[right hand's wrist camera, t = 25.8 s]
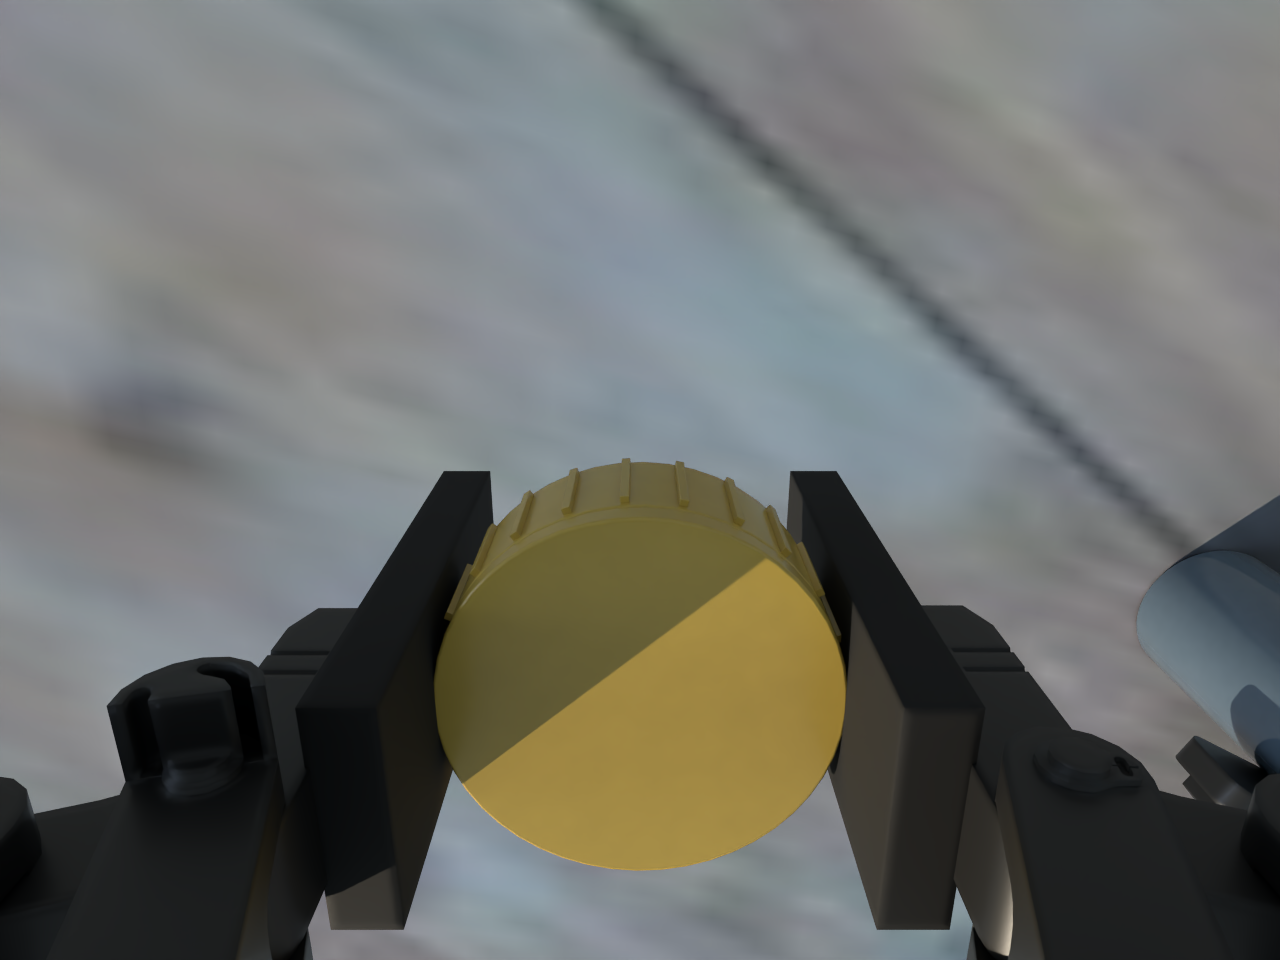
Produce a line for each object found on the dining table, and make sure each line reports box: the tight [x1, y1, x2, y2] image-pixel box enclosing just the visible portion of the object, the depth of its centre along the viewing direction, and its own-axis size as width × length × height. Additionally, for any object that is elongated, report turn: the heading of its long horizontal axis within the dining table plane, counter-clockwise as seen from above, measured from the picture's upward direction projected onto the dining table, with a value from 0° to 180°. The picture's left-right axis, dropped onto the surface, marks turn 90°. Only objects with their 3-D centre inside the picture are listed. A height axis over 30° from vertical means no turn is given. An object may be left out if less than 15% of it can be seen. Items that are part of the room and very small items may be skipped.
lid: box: [434, 458, 847, 870], centre depth 11 cm, size 5×5×2 cm
